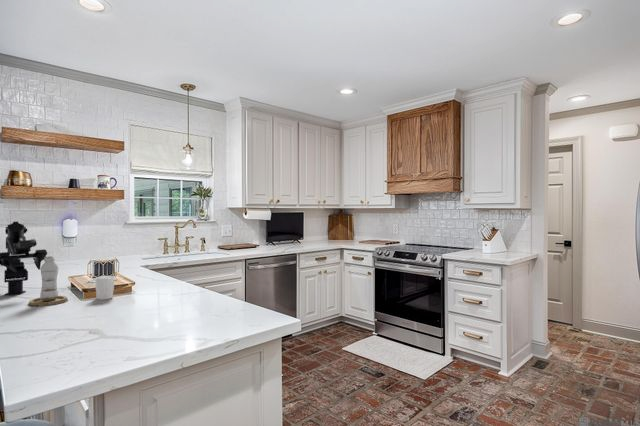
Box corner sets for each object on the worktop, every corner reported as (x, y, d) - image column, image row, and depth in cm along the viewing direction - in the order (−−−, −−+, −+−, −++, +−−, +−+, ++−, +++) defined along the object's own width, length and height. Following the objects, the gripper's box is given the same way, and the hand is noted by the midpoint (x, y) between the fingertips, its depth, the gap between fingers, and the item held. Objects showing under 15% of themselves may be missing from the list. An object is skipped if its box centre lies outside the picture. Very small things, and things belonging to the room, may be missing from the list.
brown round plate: (36, 299, 171) (36, 296, 171) (72, 297, 175) (72, 294, 175) (22, 307, 157) (22, 304, 157) (61, 305, 162) (61, 301, 162)
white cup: (91, 299, 173) (91, 278, 172) (105, 295, 180) (105, 275, 180) (104, 300, 170) (104, 279, 170) (118, 296, 178) (118, 276, 178)
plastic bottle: (46, 299, 170) (46, 256, 170) (61, 299, 170) (61, 256, 170) (36, 302, 163) (36, 257, 163) (51, 302, 163) (51, 257, 163)
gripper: (-2, 235, 166) (8, 261, 160) (45, 233, 182) (56, 256, 176) (-10, 251, 170) (0, 277, 164) (38, 248, 186) (48, 271, 180)
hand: (27, 270), depth 171 cm, fingers open, 9 cm apart
